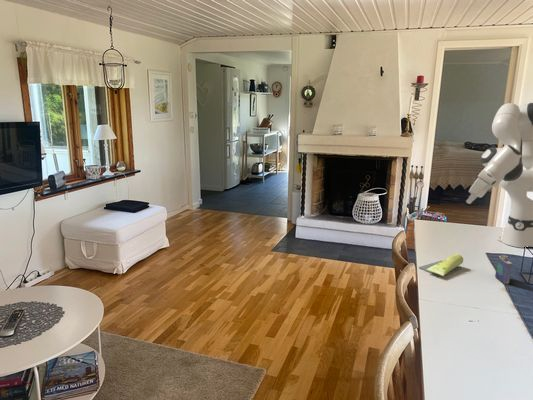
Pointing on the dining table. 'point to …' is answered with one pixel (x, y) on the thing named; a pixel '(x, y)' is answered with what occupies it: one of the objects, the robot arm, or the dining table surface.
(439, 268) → the tube
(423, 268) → the felt mat
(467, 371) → the dining table surface
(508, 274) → the blue purple box
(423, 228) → the dining table surface
